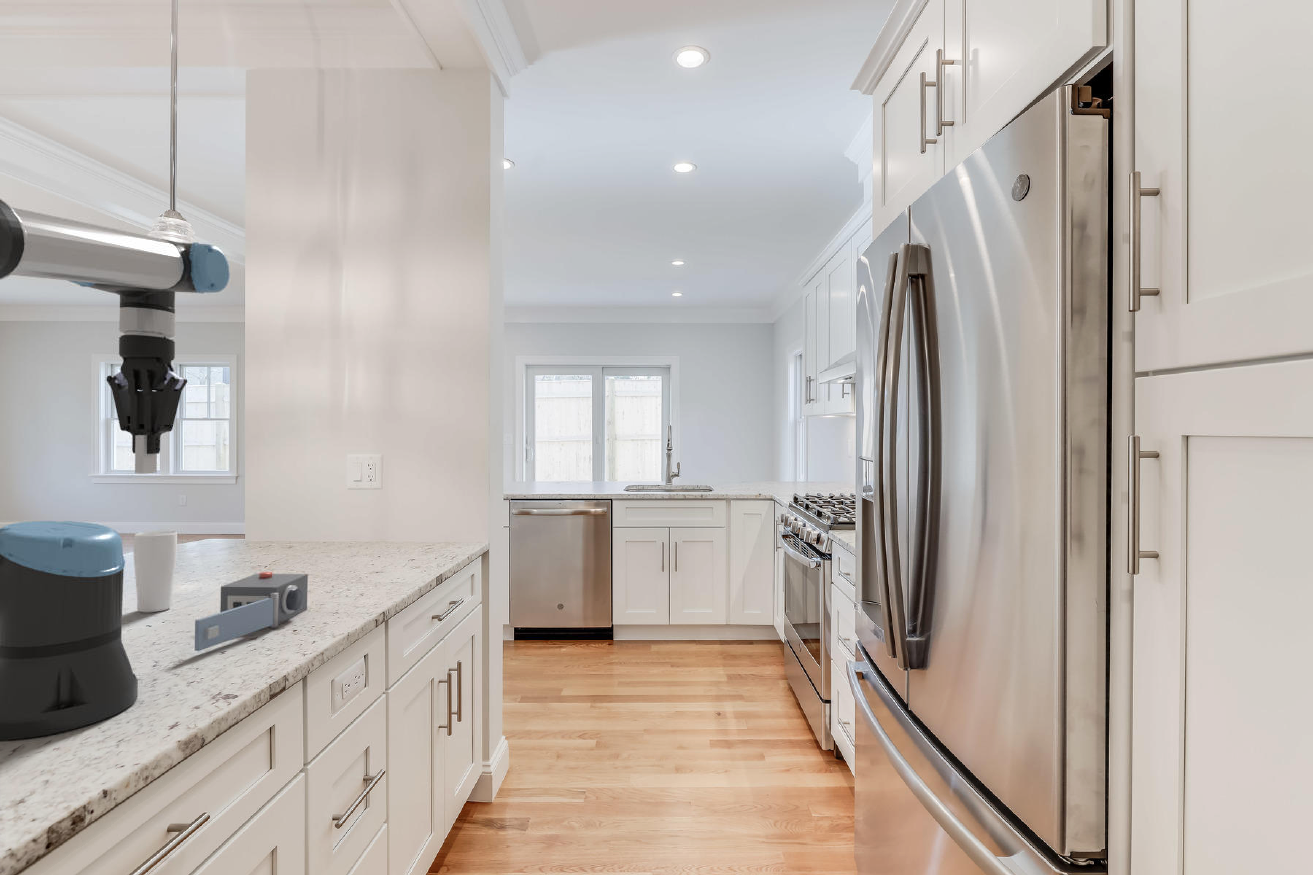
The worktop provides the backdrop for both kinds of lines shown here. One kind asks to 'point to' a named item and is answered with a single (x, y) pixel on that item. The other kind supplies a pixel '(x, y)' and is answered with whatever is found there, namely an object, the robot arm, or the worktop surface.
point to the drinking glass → (155, 569)
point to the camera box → (268, 592)
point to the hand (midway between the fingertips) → (145, 472)
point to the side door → (236, 622)
